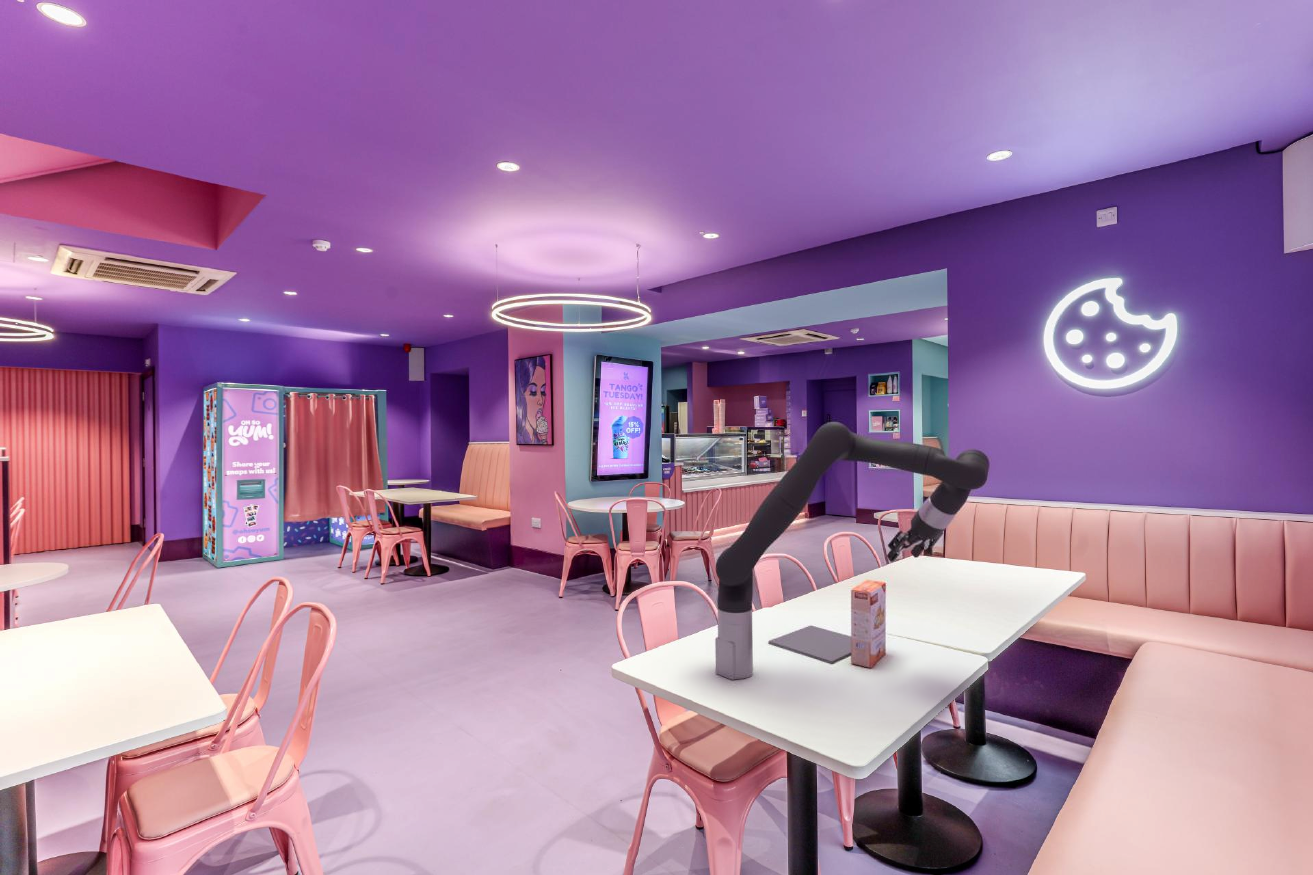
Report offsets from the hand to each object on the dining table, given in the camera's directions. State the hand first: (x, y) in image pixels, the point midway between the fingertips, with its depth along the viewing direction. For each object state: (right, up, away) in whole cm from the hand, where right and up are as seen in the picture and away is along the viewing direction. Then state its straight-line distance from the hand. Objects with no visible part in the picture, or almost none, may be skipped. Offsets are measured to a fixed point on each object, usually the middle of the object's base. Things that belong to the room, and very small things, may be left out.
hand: (901, 557), depth 156 cm
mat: (-16, -31, +21) cm, 41 cm away
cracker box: (-5, -31, +9) cm, 33 cm away
